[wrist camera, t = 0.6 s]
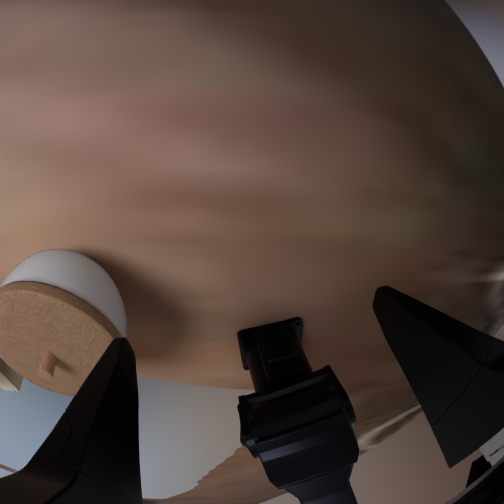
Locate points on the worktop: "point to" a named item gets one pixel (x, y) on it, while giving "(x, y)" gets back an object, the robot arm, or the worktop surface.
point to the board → (9, 378)
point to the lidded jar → (58, 318)
